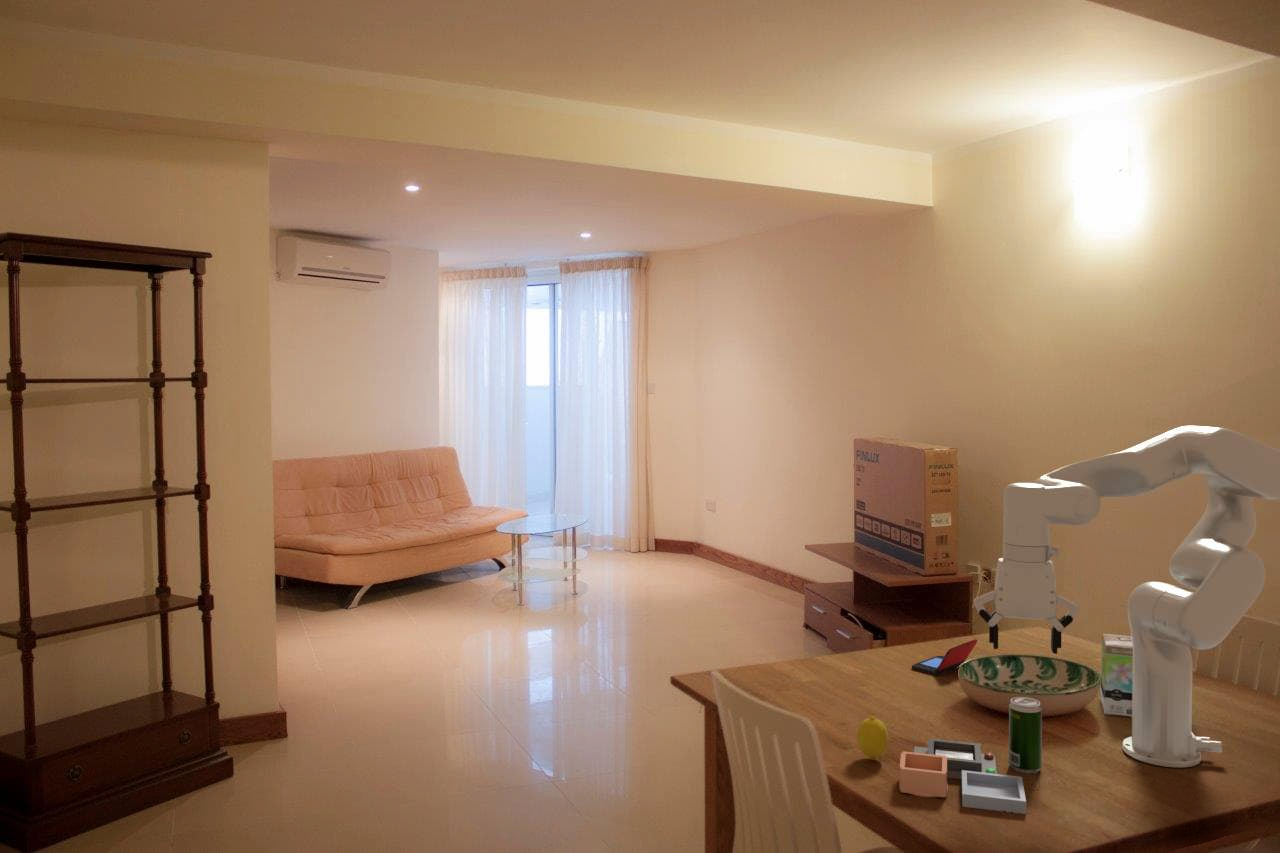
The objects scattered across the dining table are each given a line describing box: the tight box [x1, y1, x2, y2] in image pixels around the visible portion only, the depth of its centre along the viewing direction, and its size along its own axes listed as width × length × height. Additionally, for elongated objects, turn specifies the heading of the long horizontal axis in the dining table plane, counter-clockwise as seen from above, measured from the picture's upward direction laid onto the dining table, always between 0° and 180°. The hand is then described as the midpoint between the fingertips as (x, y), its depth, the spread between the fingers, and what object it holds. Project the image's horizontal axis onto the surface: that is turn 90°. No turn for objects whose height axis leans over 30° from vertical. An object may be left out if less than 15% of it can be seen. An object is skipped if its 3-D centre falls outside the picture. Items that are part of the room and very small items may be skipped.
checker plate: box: [935, 748, 973, 760], centre depth 167 cm, size 6×6×1 cm
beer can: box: [1008, 696, 1043, 775], centre depth 166 cm, size 5×5×12 cm
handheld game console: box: [911, 638, 978, 677], centre depth 222 cm, size 12×11×7 cm
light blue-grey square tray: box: [961, 770, 1027, 815], centre depth 155 cm, size 10×10×2 cm
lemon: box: [856, 716, 889, 761], centre depth 170 cm, size 6×6×8 cm
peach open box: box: [898, 750, 949, 798], centre depth 159 cm, size 8×8×4 cm
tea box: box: [1099, 633, 1133, 718], centre depth 192 cm, size 15×10×15 cm
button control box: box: [913, 738, 998, 780], centre depth 167 cm, size 14×10×3 cm
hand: (1024, 649), depth 165 cm, fingers open, 9 cm apart
